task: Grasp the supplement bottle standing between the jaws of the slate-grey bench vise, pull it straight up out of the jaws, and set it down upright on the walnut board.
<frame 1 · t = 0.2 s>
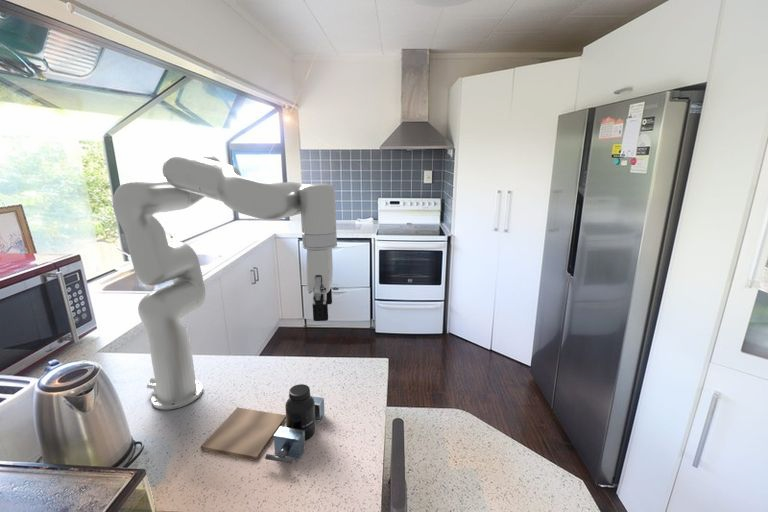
hand: (323, 311, 85), 30 cm above the countertop, tool pointing down, fingers open, 9 cm apart
bench vise: (301, 433, 88), on the countertop
walnut board: (246, 433, 88), on the countertop
supplement bottle: (301, 433, 88), on the countertop
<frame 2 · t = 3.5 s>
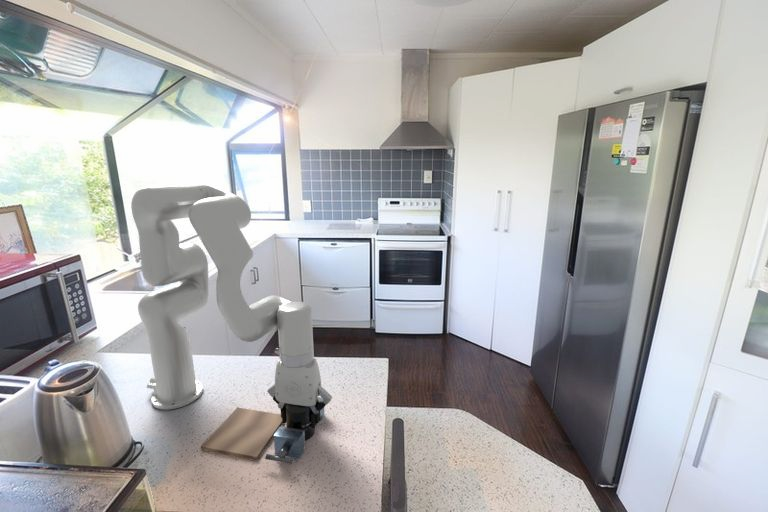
hand: (300, 421, 87), 3 cm above the countertop, tool pointing down, fingers closed on supplement bottle, 6 cm apart
supplement bottle: (301, 433, 88), on the countertop, touching gripper
when the fingers open (6 cm above the countertop, at t = 9.5 s): supplement bottle drops 1 cm, resting on walnut board.
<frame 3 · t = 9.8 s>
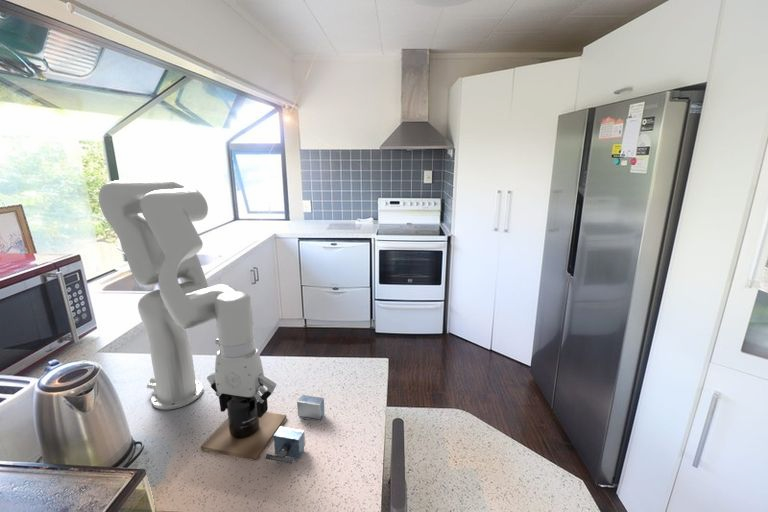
hand: (244, 410, 86), 6 cm above the countertop, tool pointing down, fingers open, 9 cm apart
supplement bottle: (245, 430, 88), point 1 cm above the countertop, touching walnut board
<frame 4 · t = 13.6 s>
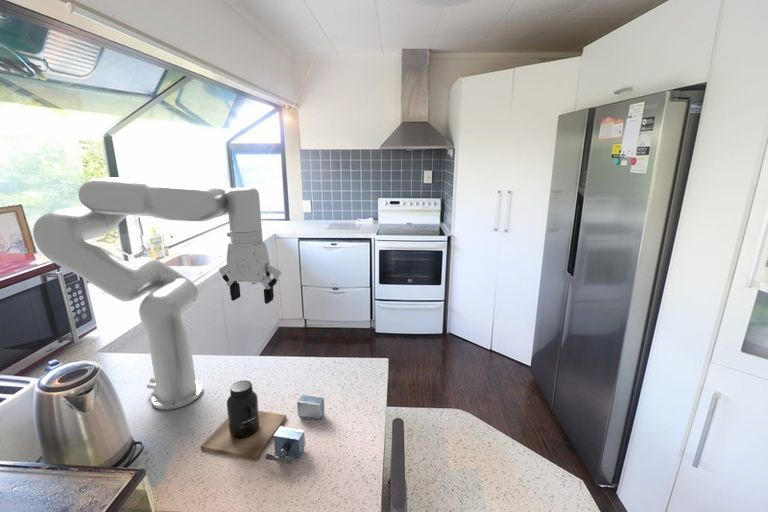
hand: (252, 300, 96), 28 cm above the countertop, tool pointing down, fingers open, 9 cm apart
nothing on the countertop moved.
at the end: supplement bottle inside the target area on the walnut board (0.3 cm from its centre), point 0.8 cm above the walnut board's base; supplement bottle tilted 0°; the gripper is holding nothing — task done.
